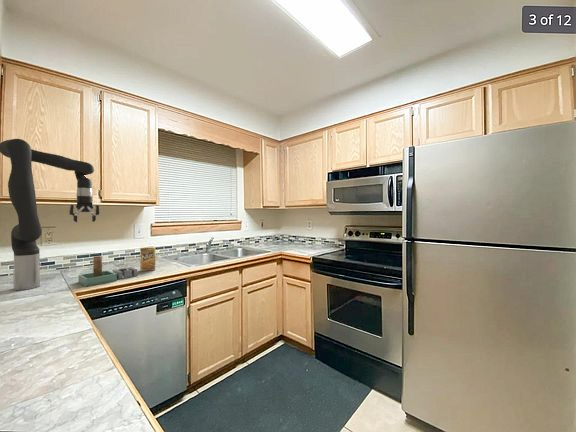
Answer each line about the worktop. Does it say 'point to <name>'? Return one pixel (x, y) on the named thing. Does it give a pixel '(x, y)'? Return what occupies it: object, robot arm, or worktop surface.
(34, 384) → the worktop surface
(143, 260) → the candy box
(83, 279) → the tray
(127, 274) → the socket block
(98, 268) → the wooden pin
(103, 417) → the worktop surface
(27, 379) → the worktop surface
